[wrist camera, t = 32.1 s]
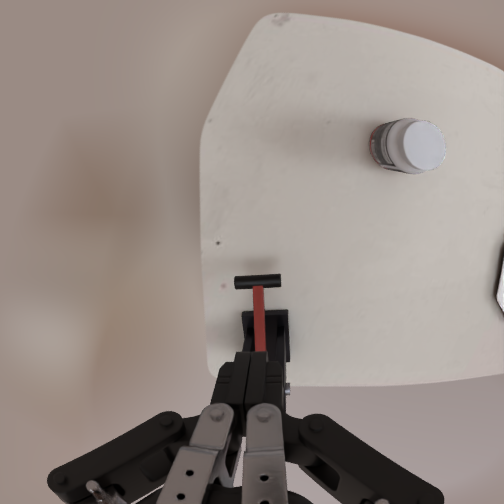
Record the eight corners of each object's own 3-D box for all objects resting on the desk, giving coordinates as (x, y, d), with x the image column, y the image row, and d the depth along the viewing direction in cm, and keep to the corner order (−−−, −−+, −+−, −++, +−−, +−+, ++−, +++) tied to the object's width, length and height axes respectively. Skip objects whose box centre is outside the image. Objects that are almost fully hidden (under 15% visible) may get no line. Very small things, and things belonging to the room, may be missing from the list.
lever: (236, 277, 35) (233, 275, 33) (280, 275, 35) (280, 272, 32) (241, 398, 32) (238, 404, 30) (285, 398, 32) (285, 403, 29)
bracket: (242, 311, 41) (227, 373, 28) (287, 309, 40) (289, 372, 28) (248, 358, 43) (237, 423, 31) (289, 357, 42) (290, 423, 30)
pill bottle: (417, 139, 31) (459, 138, 22) (398, 178, 33) (436, 189, 24) (379, 114, 31) (413, 103, 22) (360, 154, 33) (388, 155, 23)
